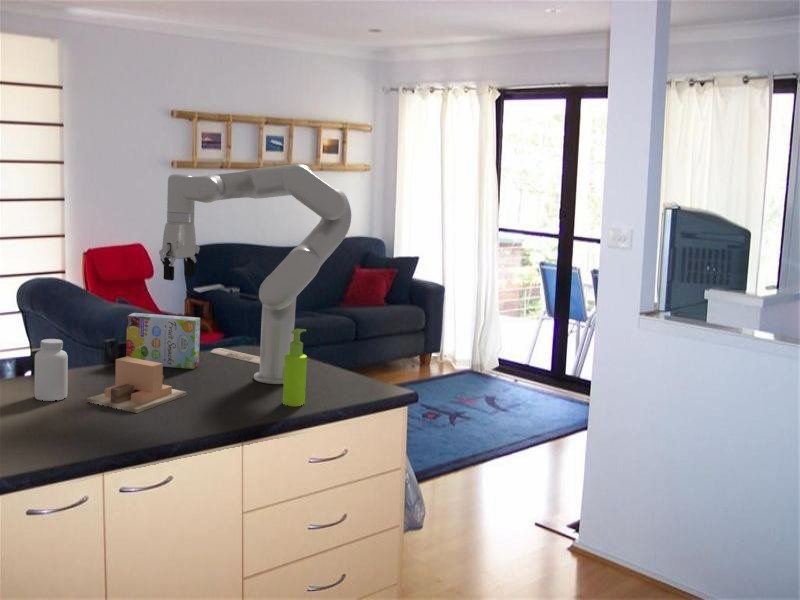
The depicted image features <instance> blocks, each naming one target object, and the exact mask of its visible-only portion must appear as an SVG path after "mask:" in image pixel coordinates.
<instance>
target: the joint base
mask: <svg viewBox="0 0 800 600" xmlns="http://www.w3.org/2000/svg"><path fill="white" fill-rule="evenodd" d="M164 380H165V376H164V375H163V378H162V384H163V385H165V381H164ZM139 391H141V390H134V385H129V384H124V385H121V386H118V387H115V388H111V397H106V396H105V392H104V393H101V394H97V395H94V396H90V397H87V398H86V403H88V402H90V403H89V404H93V403H94V404H95V405H97V404H99V406H102V405H104V406H103V407H107V406H109V407H108V408H111V407H112V408H111V409H116V408H117V410H121V409H122V411H127V412H132V413H136V414H138V413H140V412H144V411H146V410H149V409H152V408H155V407H158V406H161V405H164V404H166V403H169V402H172V401H174V400H177V399H181V398H183V397H186V396H187V394H188V392H187V391H184V390H179V389H173V388H172V394H169V395H166V396H163V397H160V398H158V399H155V400H152V401H149V402H146V403H143V404H140V403H135V402H131V394H133V393H136V392H139ZM94 404H93V405H94Z"/></svg>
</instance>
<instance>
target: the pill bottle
mask: <svg viewBox="0 0 800 600" xmlns="http://www.w3.org/2000/svg"><path fill="white" fill-rule="evenodd" d="M63 346H64V342H63V340H62V339H60V338H59V339H58V338H57V339H56V338H46V339H42V340H40V348H39V349H40V350H38V351H37V352H36V353H35V354H34V397H35V399H36V400H38V401H42V400H43V402H55V400H57V401H61V400H65V399H67V397H68V383H69V382H68V380H69V379H68V377H69V375H68V373H69V372H68V369H69V366H68V364H69V363H68V362H69V361H68V359H69V358H68V357H69V356H68V354H67V353H68V352H66V351H65V350H63V348H64V347H63ZM64 398H65V399H64Z"/></svg>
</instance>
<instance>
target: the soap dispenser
mask: <svg viewBox="0 0 800 600" xmlns="http://www.w3.org/2000/svg"><path fill="white" fill-rule="evenodd" d="M304 332H307V329H304V328H294V330H293V331H292V334H294V338H293V341H292V342H290V353H289V354H286V355H285V361H284V384H282V385H283V387H282V388H283V389H282V390H283V391H282V392H283V393H282V404H283V405H284V404H285V405H284V406H287V405H288V406H287V407H301V405H302V406H304V405H305V404H306V390H307V389H306V386H307V385H306V384H307V367H308V355H307V354H304V353H303V349H304V343H303V342H302V341H301V334H302V333H304ZM303 404H304V405H303Z"/></svg>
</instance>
